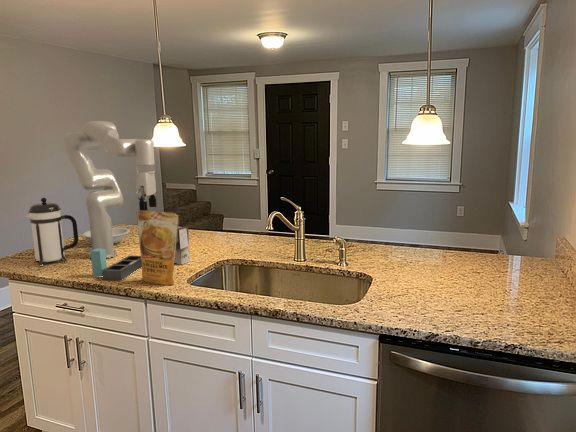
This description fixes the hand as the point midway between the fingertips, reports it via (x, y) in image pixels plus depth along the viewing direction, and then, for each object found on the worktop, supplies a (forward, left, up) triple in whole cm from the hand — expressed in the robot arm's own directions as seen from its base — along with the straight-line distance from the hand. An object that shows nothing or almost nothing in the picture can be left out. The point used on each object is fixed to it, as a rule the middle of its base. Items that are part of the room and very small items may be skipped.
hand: (148, 208), depth 192 cm
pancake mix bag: (+12, -19, -26) cm, 34 cm away
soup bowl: (-43, +37, -26) cm, 62 cm away
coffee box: (+9, +7, -26) cm, 28 cm away
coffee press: (-50, +3, -26) cm, 56 cm away
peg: (-16, -15, -26) cm, 34 cm away
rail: (-8, -9, -26) cm, 28 cm away
